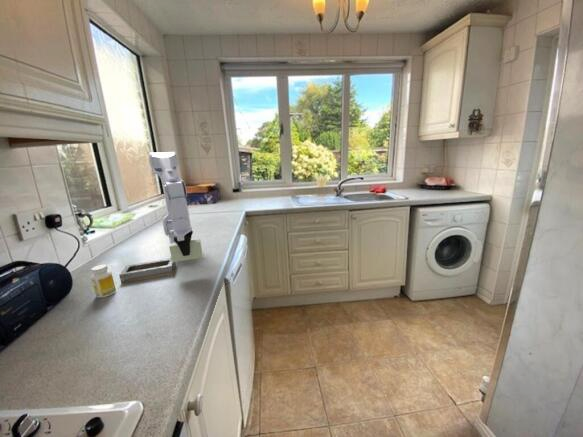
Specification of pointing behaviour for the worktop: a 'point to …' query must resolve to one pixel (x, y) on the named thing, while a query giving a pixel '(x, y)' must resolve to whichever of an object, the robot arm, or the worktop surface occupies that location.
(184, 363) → the worktop surface
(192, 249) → the door panel
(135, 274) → the frame
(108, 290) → the supplement bottle
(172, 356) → the worktop surface
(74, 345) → the worktop surface
